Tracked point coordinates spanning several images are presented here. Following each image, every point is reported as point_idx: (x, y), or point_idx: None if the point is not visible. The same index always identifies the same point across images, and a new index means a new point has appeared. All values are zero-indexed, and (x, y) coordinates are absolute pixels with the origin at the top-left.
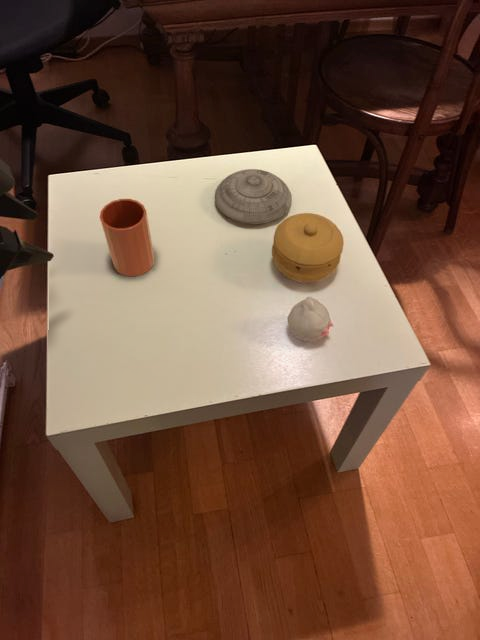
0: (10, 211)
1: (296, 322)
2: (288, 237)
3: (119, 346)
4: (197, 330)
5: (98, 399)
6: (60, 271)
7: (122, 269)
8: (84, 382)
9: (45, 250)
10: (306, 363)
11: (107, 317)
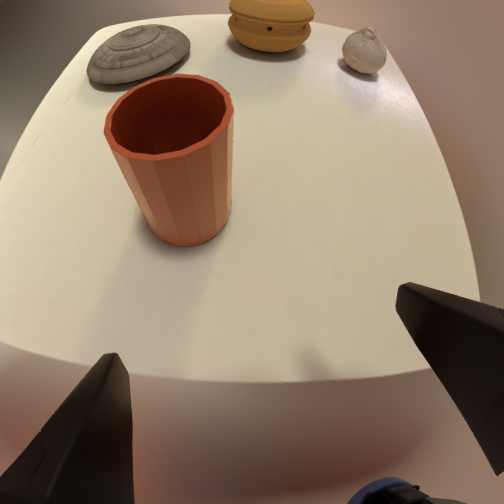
0: (113, 481)
1: (379, 54)
2: (281, 4)
3: (387, 258)
4: (360, 148)
5: (458, 295)
6: (174, 362)
7: (221, 220)
8: None
9: (429, 297)
10: (394, 83)
11: (325, 272)
